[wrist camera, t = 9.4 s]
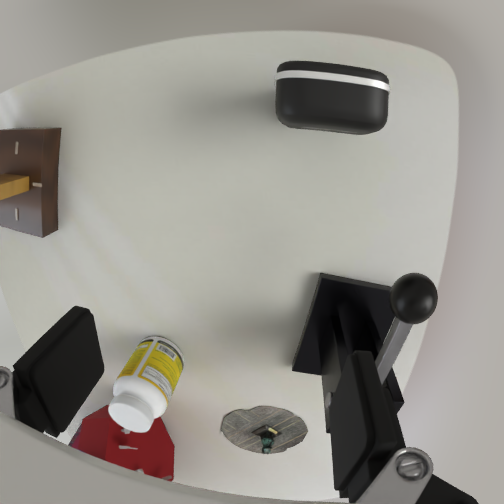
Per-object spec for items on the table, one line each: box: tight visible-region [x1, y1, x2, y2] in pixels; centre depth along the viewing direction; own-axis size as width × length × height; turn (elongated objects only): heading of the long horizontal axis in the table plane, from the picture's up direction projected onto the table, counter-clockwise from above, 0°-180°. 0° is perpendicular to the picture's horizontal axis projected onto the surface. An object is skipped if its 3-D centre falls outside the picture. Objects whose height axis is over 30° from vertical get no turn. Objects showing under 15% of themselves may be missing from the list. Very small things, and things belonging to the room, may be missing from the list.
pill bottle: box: [108, 336, 184, 433], centre depth 31 cm, size 6×6×11 cm
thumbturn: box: [0, 174, 29, 200], centre depth 25 cm, size 5×2×5 cm, turn 80°
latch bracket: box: [292, 273, 404, 433], centre depth 27 cm, size 12×9×13 cm
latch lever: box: [375, 273, 438, 384], centre depth 20 cm, size 13×3×3 cm, turn 170°
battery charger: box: [275, 61, 390, 135], centre depth 20 cm, size 7×4×11 cm, turn 88°
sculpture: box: [221, 406, 308, 454], centre depth 40 cm, size 12×9×8 cm
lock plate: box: [0, 128, 61, 238], centre depth 29 cm, size 12×9×3 cm
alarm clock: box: [78, 405, 174, 481], centre depth 32 cm, size 15×9×20 cm, turn 24°
